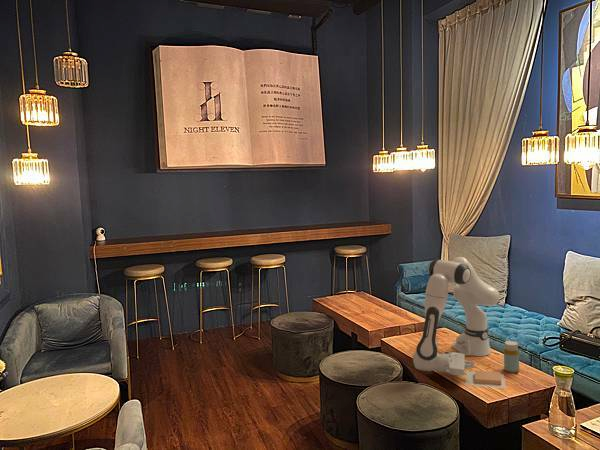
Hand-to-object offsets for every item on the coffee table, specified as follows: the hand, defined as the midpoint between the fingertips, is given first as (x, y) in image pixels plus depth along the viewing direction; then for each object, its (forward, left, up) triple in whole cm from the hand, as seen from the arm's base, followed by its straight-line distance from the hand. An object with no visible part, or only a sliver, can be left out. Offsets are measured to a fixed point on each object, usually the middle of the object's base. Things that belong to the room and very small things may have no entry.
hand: (474, 365), depth 240 cm
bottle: (+3, +22, -8) cm, 24 cm away
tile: (0, 0, -6) cm, 6 cm away
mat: (+3, +3, -8) cm, 9 cm away
